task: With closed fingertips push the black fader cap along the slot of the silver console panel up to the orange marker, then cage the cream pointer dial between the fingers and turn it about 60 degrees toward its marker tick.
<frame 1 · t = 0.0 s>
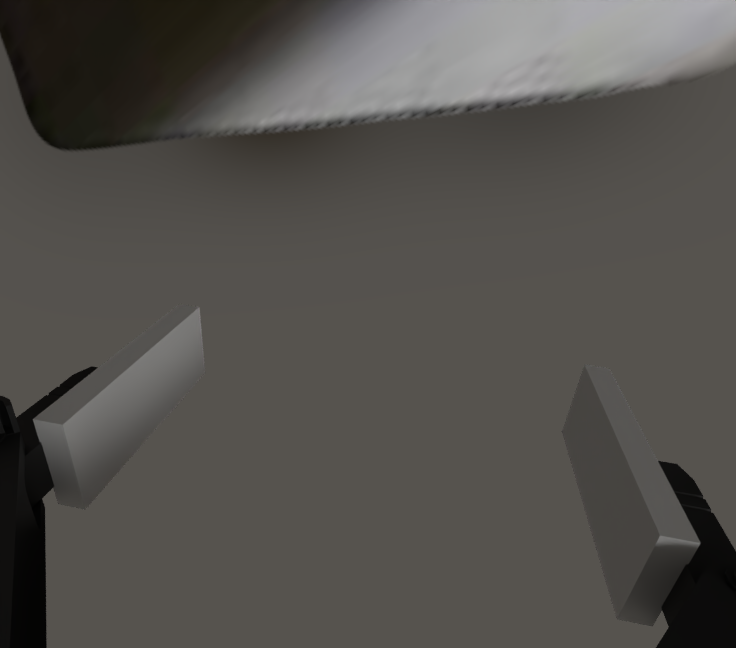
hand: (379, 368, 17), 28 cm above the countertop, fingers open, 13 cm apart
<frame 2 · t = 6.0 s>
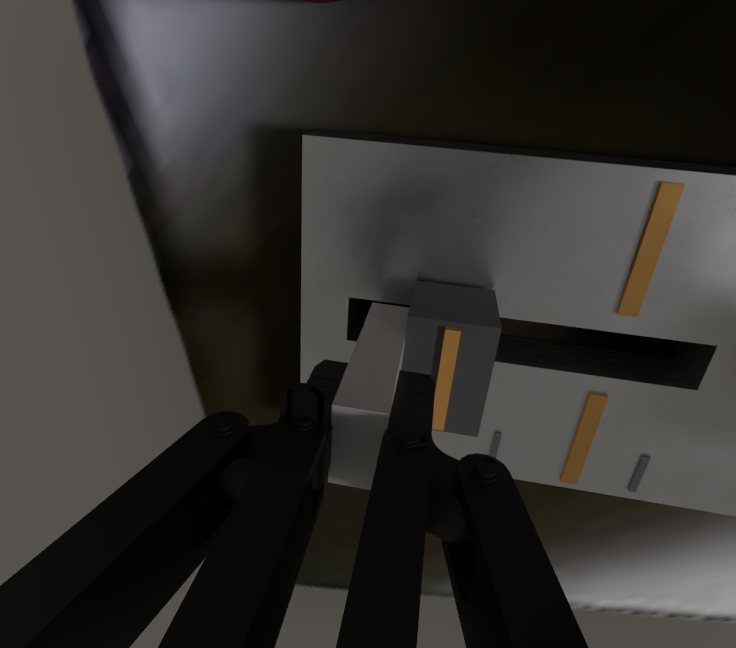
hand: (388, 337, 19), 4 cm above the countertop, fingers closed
console: (631, 331, 21), on the countertop
fader: (446, 340, 19), point 3 cm above the countertop, slide at -2.9 cm, touching gripper
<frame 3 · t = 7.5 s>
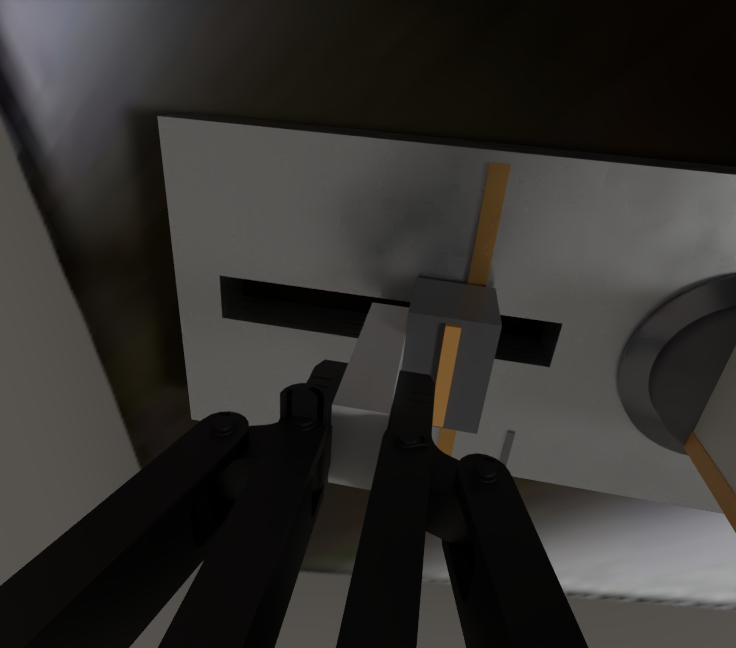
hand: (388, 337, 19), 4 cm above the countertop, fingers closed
console: (500, 312, 22), on the countertop
fader: (446, 338, 19), point 3 cm above the countertop, slide at 2.7 cm, touching gripper
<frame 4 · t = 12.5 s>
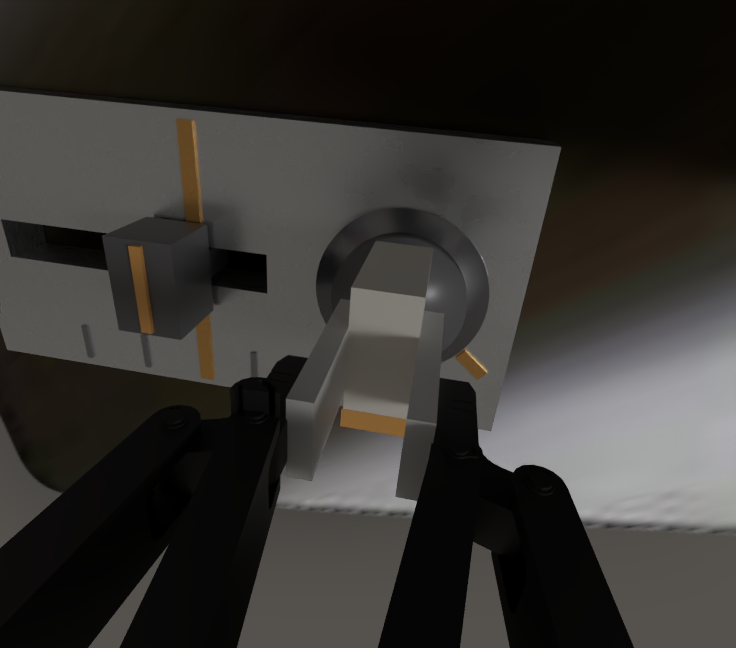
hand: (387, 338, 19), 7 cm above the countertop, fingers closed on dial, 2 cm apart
console: (247, 253, 26), on the countertop
dial: (391, 326, 19), point 6 cm above the countertop, hinge at 0.0°, touching gripper
fader: (176, 267, 23), point 3 cm above the countertop, slide at 2.8 cm
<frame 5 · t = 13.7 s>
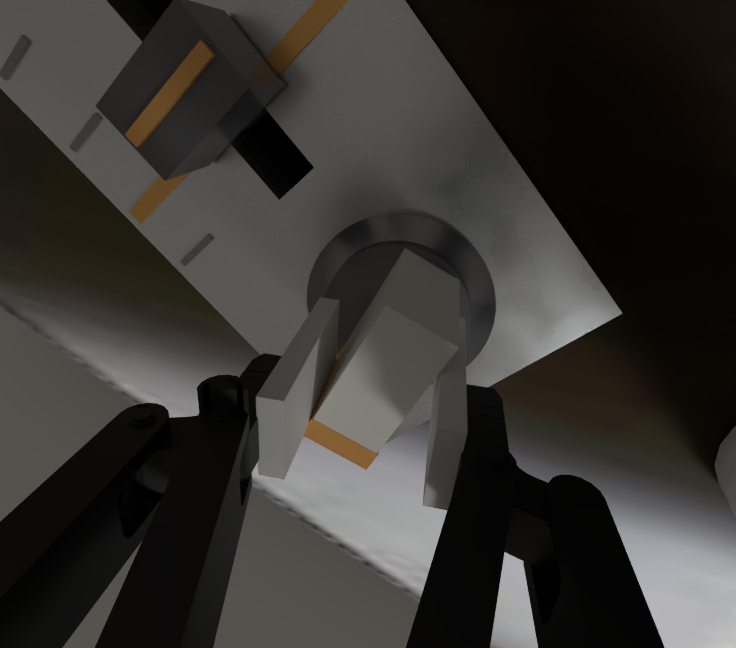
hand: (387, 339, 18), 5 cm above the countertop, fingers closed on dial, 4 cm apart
console: (282, 135, 21), on the countertop
dial: (388, 345, 18), point 6 cm above the countertop, hinge at 20.9°, touching gripper
fader: (211, 94, 17), point 3 cm above the countertop, slide at 2.8 cm
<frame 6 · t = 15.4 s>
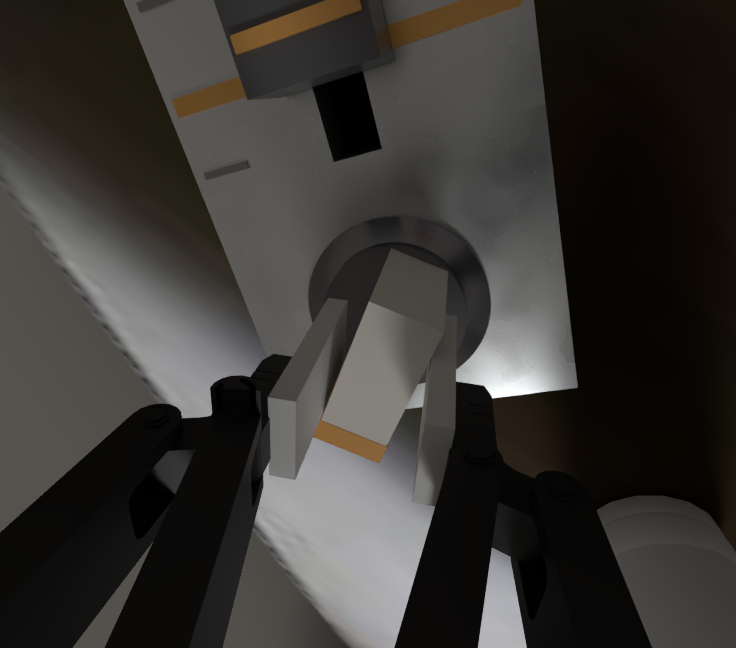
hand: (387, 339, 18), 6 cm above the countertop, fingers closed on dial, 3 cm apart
console: (355, 99, 20), on the countertop
bottle: (643, 539, 28), on the countertop
dial: (386, 342, 18), point 6 cm above the countertop, hinge at 54.5°, touching gripper
fader: (320, 32, 17), point 3 cm above the countertop, slide at 2.8 cm
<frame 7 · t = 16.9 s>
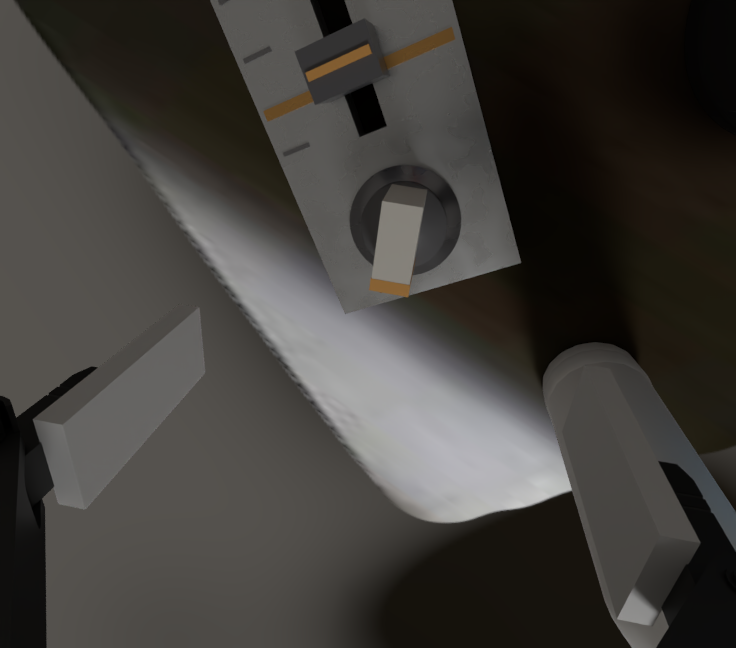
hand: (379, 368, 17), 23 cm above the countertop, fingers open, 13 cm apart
console: (368, 99, 34), on the countertop
bottle: (589, 379, 41), on the countertop
dial: (400, 236, 32), point 6 cm above the countertop, hinge at 61.7°
fader: (347, 64, 30), point 3 cm above the countertop, slide at 2.8 cm
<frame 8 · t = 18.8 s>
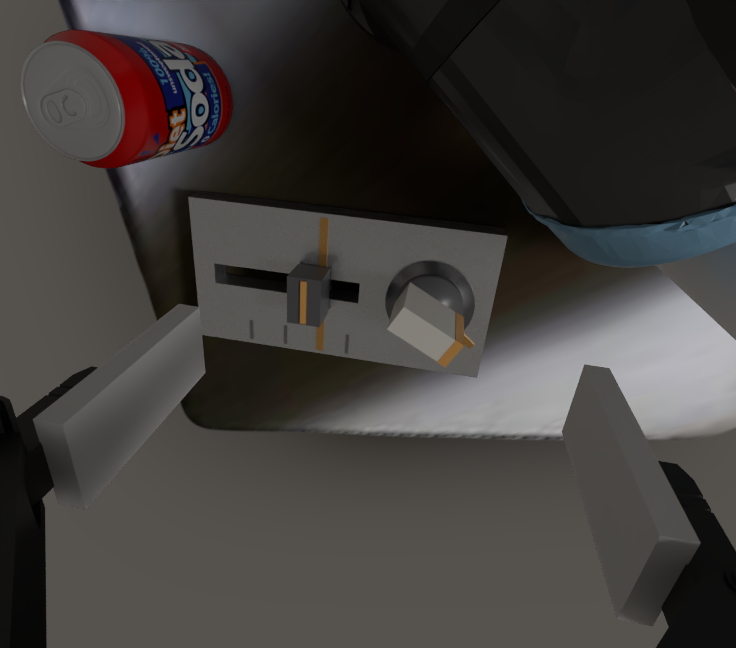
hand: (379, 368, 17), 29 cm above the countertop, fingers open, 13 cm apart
console: (343, 280, 47), on the countertop
bottle: (674, 210, 39), on the countertop
soda can: (195, 97, 42), on the countertop
dial: (427, 320, 41), point 6 cm above the countertop, hinge at 62.5°
fader: (312, 290, 44), point 3 cm above the countertop, slide at 2.8 cm
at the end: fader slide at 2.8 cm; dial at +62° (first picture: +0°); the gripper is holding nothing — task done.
